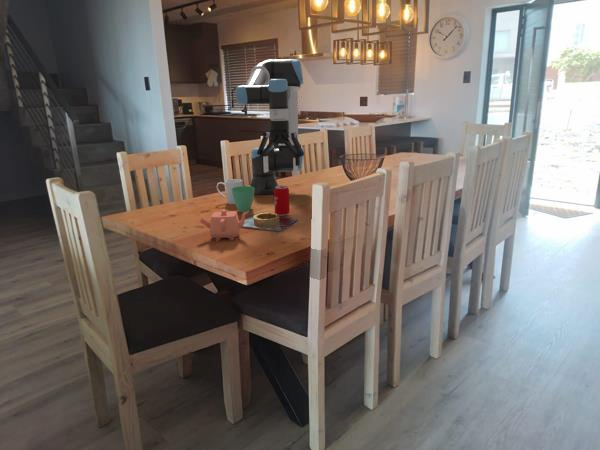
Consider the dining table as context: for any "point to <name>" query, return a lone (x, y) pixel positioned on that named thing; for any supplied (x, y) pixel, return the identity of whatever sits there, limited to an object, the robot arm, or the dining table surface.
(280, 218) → the grey can holder
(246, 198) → the mug
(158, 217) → the dining table surface
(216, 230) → the teapot
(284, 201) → the beverage can
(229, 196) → the mug
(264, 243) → the dining table surface
